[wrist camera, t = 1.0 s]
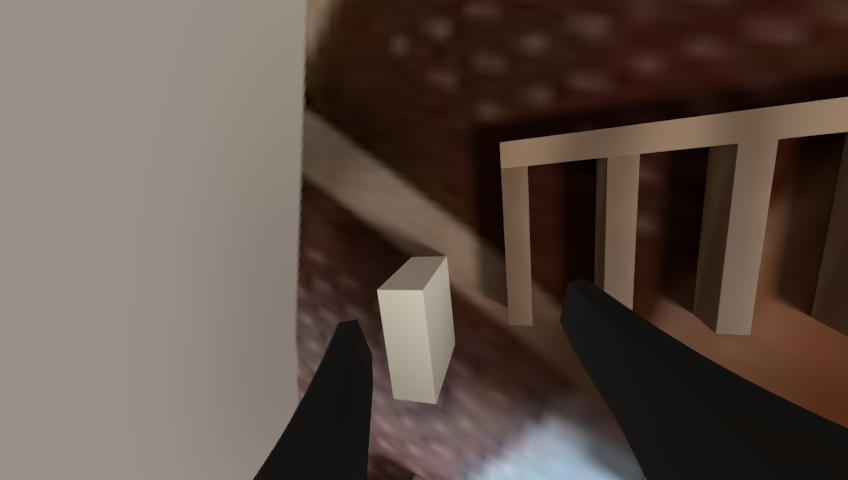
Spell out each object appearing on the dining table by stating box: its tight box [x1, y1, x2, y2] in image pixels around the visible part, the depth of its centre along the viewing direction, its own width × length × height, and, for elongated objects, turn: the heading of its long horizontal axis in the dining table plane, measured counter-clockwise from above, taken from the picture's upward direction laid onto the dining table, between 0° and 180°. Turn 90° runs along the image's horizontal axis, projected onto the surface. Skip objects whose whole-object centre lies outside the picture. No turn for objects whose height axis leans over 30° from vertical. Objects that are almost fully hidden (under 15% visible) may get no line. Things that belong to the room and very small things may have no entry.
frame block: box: [377, 256, 455, 404], centre depth 23 cm, size 8×3×7 cm, turn 7°
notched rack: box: [500, 97, 848, 336], centre depth 18 cm, size 26×13×2 cm, turn 97°
